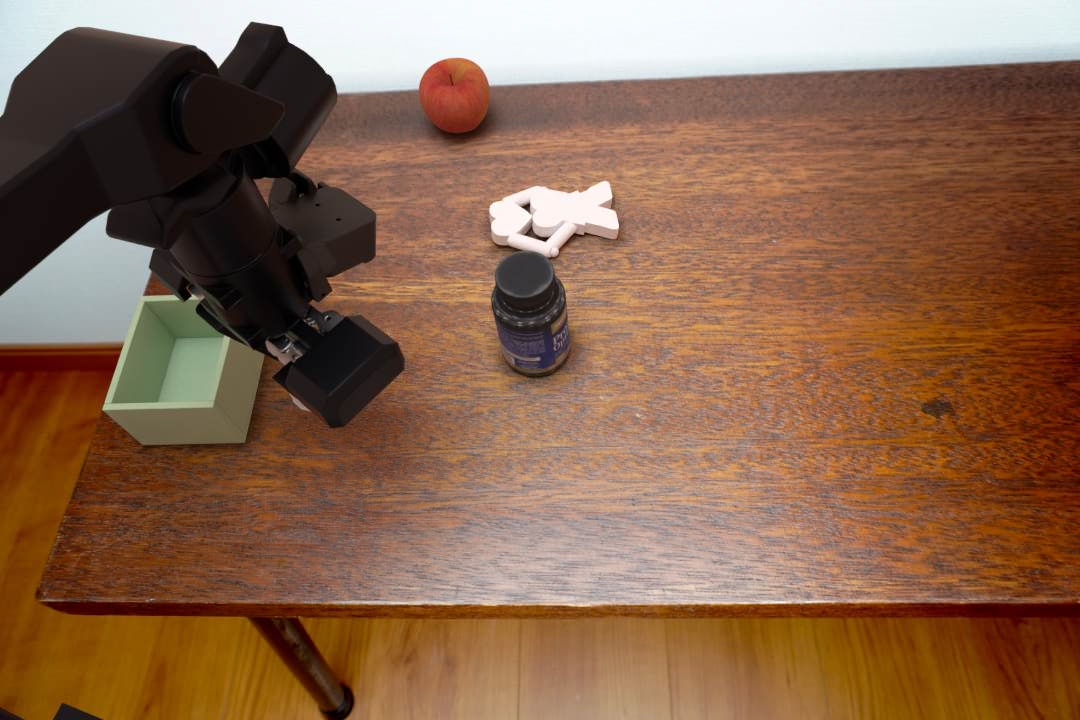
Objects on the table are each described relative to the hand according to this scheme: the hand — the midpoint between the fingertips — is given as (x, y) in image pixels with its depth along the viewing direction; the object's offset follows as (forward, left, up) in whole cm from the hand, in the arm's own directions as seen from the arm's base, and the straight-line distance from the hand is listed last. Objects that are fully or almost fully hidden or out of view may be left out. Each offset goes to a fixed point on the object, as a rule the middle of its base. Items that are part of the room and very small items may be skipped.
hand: (313, 376), depth 59 cm
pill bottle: (+17, -6, -12) cm, 21 cm away
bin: (-4, +15, -12) cm, 20 cm away
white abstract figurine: (+29, +2, -12) cm, 31 cm away
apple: (+34, +19, -12) cm, 40 cm away
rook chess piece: (0, 0, -2) cm, 2 cm away
